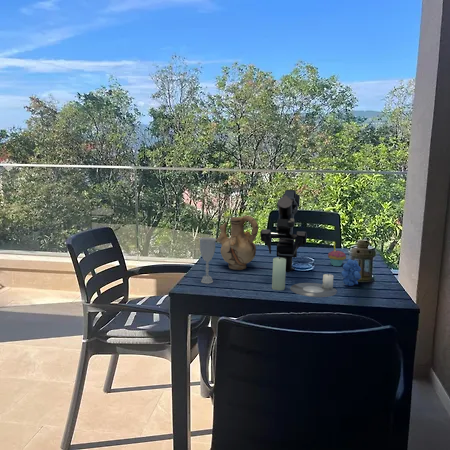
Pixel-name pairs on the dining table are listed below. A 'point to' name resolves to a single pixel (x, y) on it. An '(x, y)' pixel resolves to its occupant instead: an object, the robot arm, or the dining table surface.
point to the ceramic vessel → (238, 242)
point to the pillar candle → (278, 273)
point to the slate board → (312, 290)
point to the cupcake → (336, 257)
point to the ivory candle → (327, 281)
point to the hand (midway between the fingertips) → (281, 254)
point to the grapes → (351, 272)
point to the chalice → (207, 255)
